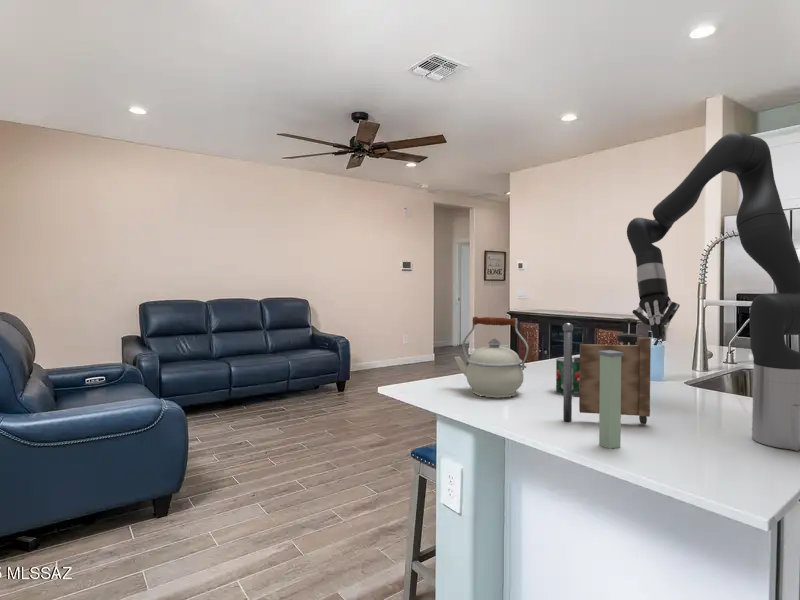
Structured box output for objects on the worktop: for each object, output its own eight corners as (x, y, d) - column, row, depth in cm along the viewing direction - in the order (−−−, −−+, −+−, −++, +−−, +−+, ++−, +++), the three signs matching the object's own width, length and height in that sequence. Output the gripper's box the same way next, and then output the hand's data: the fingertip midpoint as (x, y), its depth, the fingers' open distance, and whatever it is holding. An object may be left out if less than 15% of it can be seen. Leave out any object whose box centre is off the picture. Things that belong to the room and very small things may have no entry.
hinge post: (575, 421, 117) (575, 322, 116) (567, 422, 116) (568, 323, 115) (567, 418, 120) (567, 322, 119) (560, 420, 118) (560, 322, 117)
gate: (574, 421, 116) (575, 337, 115) (573, 418, 119) (573, 336, 118) (649, 425, 112) (650, 338, 112) (646, 422, 115) (647, 337, 114)
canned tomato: (552, 390, 152) (553, 357, 151) (576, 390, 151) (576, 357, 151) (560, 396, 144) (560, 361, 143) (585, 396, 143) (585, 361, 143)
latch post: (597, 443, 101) (597, 350, 100) (610, 441, 102) (611, 350, 101) (609, 449, 97) (610, 353, 97) (622, 447, 99) (623, 352, 98)
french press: (606, 379, 167) (607, 317, 167) (627, 377, 170) (627, 316, 170) (632, 386, 156) (633, 319, 155) (653, 384, 159) (654, 319, 158)
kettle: (535, 391, 150) (535, 316, 149) (519, 404, 135) (519, 320, 134) (464, 383, 163) (464, 314, 162) (443, 394, 147) (442, 317, 146)
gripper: (681, 278, 131) (690, 336, 126) (636, 288, 142) (642, 343, 137) (668, 272, 127) (677, 332, 122) (623, 283, 138) (629, 339, 133)
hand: (659, 338), depth 130 cm, fingers closed
